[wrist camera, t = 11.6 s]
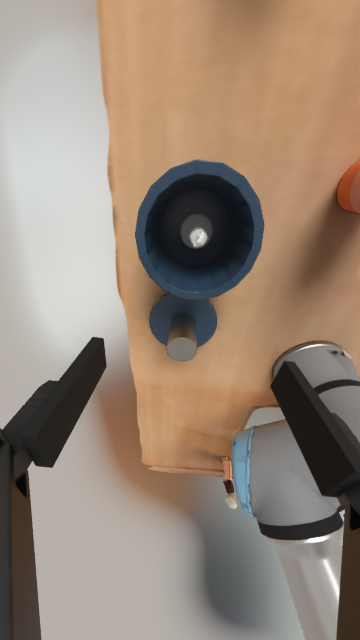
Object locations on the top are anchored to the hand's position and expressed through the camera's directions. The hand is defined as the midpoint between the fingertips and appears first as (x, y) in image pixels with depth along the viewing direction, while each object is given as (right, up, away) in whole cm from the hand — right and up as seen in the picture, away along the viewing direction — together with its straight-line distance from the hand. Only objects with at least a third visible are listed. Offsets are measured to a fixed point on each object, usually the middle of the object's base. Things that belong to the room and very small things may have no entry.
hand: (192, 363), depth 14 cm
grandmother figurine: (+15, -46, +52) cm, 72 cm away
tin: (+1, +17, +15) cm, 23 cm away
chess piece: (+2, +17, +15) cm, 22 cm away
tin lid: (0, +3, +23) cm, 23 cm away
